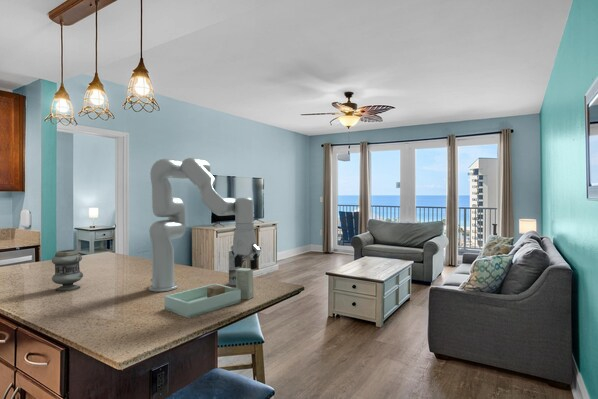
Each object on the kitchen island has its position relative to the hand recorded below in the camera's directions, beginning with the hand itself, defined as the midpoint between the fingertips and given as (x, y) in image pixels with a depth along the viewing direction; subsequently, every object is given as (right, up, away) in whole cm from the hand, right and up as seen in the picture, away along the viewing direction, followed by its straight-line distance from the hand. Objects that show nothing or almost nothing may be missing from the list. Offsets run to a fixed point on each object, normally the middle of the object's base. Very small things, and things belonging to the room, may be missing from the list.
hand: (245, 267), depth 149 cm
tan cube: (-11, -12, -5) cm, 17 cm away
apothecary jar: (-85, -13, +15) cm, 87 cm away
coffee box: (-7, -13, +25) cm, 29 cm away
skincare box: (0, -13, 0) cm, 13 cm away
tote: (-15, -13, -10) cm, 22 cm away
